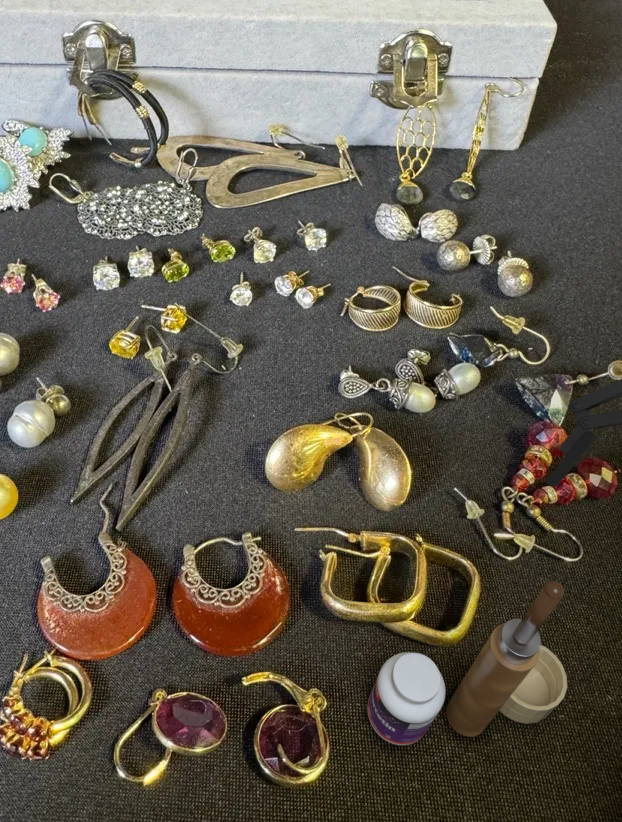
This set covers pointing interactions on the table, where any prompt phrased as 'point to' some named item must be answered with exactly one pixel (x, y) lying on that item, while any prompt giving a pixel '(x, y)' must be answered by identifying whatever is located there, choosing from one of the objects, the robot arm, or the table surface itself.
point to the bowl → (538, 690)
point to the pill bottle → (405, 698)
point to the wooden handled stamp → (528, 627)
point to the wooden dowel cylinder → (485, 688)
